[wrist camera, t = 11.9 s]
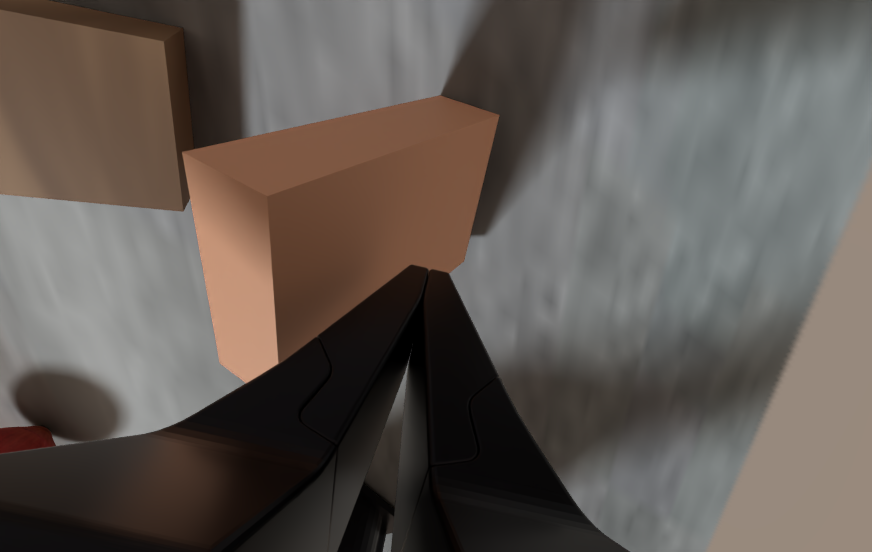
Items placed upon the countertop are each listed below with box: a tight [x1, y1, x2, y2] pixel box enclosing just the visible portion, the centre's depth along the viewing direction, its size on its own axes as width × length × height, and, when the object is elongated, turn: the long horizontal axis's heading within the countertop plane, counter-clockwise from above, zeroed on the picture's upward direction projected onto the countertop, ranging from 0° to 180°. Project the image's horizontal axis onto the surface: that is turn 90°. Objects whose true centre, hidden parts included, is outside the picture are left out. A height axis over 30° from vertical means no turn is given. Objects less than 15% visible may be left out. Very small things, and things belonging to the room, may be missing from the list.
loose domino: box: [182, 96, 499, 383], centre depth 11 cm, size 2×5×8 cm, turn 170°
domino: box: [0, 0, 194, 211], centre depth 12 cm, size 2×5×8 cm
